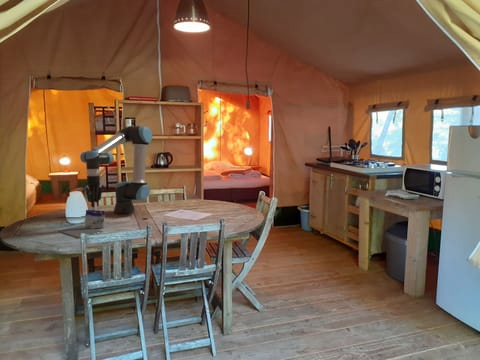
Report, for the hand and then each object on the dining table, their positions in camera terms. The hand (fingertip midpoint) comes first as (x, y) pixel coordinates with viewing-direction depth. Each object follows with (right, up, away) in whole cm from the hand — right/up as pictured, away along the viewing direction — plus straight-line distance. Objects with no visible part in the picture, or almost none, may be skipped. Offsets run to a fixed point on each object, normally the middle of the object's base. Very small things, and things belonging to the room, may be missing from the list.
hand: (94, 211), depth 237 cm
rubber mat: (-6, -12, -7) cm, 15 cm away
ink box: (-1, -10, +1) cm, 10 cm away
